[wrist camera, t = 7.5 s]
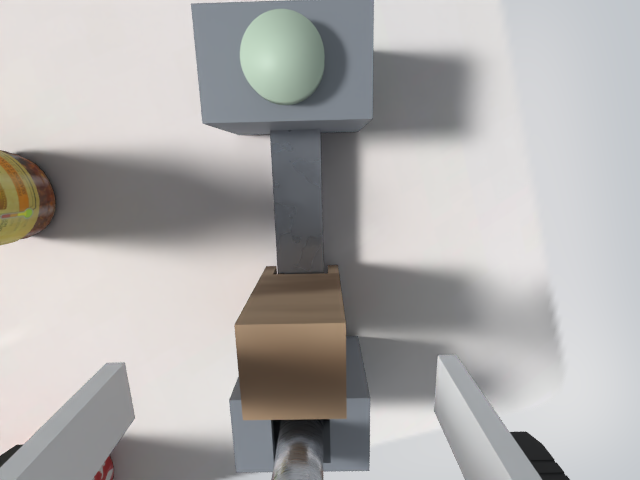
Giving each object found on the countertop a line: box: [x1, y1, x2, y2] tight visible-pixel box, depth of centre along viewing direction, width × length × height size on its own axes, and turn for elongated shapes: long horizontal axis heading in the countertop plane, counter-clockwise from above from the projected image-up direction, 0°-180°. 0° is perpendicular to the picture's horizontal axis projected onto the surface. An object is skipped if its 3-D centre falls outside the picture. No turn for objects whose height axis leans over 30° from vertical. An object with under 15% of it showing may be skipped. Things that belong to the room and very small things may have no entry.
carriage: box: [235, 265, 347, 420], centre depth 20 cm, size 5×5×9 cm
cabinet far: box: [229, 336, 370, 472], centre depth 23 cm, size 5×8×7 cm, turn 91°
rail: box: [270, 129, 324, 274], centre depth 23 cm, size 15×3×2 cm, turn 1°
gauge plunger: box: [272, 419, 323, 480], centre depth 17 cm, size 4×4×7 cm
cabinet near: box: [191, 0, 374, 135], centre depth 18 cm, size 5×8×8 cm, turn 91°
